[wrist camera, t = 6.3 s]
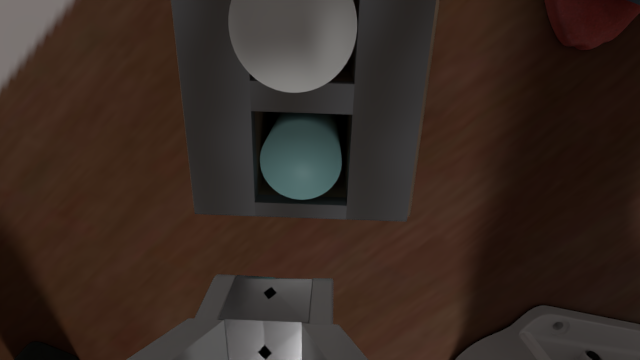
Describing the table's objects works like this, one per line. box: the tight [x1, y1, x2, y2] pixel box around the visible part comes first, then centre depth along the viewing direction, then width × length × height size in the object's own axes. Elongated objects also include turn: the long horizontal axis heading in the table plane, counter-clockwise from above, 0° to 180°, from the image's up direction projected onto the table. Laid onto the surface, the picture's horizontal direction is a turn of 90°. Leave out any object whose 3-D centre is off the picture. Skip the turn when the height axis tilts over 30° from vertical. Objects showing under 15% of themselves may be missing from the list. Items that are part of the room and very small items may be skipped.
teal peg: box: [260, 112, 342, 200], centre depth 22 cm, size 4×4×8 cm
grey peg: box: [228, 0, 357, 93], centre depth 15 cm, size 4×4×8 cm
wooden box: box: [171, 0, 440, 221], centre depth 21 cm, size 12×13×8 cm
